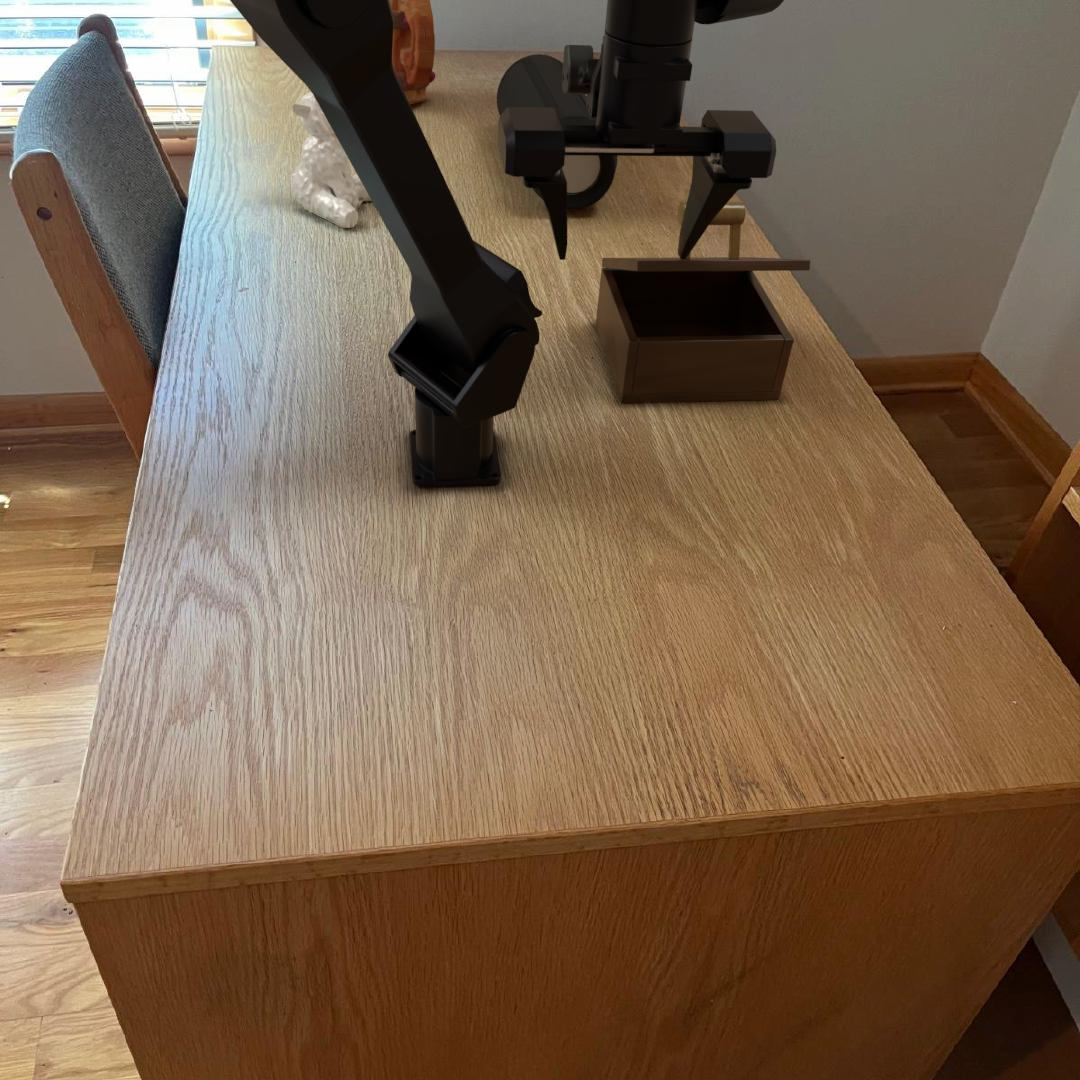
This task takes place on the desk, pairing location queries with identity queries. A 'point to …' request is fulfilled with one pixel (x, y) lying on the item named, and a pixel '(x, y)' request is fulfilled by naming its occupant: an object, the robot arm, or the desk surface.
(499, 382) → the robot arm
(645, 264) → the lid
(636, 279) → the keepsake box
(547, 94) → the portable speaker
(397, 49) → the mug
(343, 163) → the white creature statuette
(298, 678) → the desk surface
